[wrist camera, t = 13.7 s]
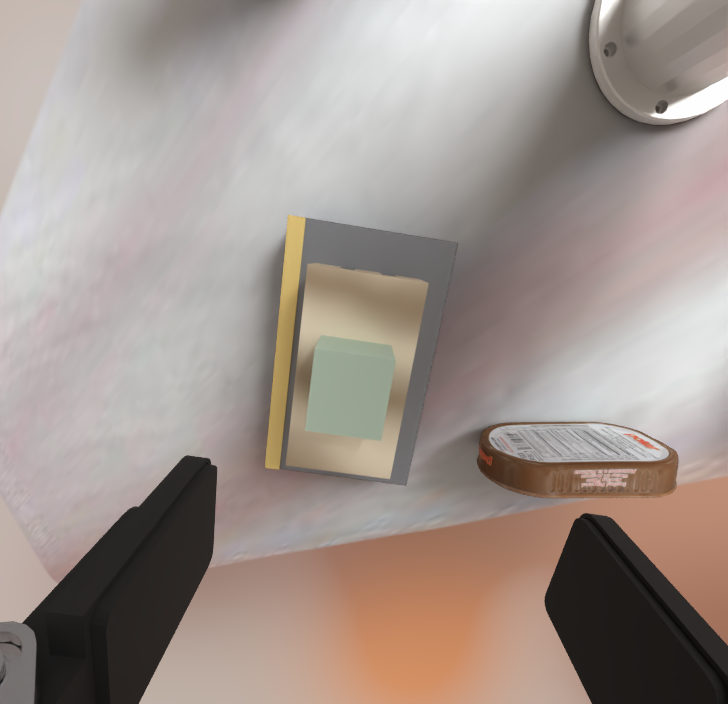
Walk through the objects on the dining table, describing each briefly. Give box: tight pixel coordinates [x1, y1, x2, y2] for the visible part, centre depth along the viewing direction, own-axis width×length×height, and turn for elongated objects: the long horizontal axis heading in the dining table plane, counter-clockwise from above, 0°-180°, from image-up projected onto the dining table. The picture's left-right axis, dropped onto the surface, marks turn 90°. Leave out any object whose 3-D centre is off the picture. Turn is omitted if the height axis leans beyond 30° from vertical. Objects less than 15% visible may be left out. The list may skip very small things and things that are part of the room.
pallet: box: [286, 263, 429, 479], centre depth 25 cm, size 14×8×4 cm, turn 171°
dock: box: [265, 215, 458, 486], centre depth 29 cm, size 20×12×4 cm, turn 171°
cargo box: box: [305, 335, 396, 441], centre depth 22 cm, size 5×4×3 cm
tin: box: [477, 422, 678, 498], centre depth 29 cm, size 15×3×8 cm, turn 91°
